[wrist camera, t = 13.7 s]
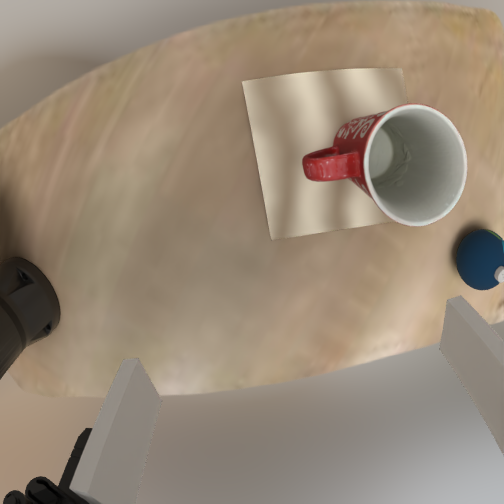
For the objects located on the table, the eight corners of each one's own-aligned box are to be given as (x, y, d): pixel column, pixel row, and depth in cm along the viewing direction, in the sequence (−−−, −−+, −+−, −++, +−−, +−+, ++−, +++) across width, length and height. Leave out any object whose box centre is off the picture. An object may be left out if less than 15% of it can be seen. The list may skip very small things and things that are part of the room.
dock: (270, 231, 39) (271, 240, 36) (243, 85, 32) (241, 81, 29) (406, 211, 37) (416, 218, 34) (391, 71, 30) (401, 68, 28)
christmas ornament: (493, 250, 39) (530, 279, 30) (457, 283, 41) (490, 318, 32) (477, 210, 37) (519, 234, 27) (438, 245, 39) (475, 277, 30)
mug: (398, 109, 30) (467, 108, 17) (401, 187, 33) (465, 223, 21) (287, 111, 31) (304, 102, 18) (295, 194, 34) (314, 236, 22)
